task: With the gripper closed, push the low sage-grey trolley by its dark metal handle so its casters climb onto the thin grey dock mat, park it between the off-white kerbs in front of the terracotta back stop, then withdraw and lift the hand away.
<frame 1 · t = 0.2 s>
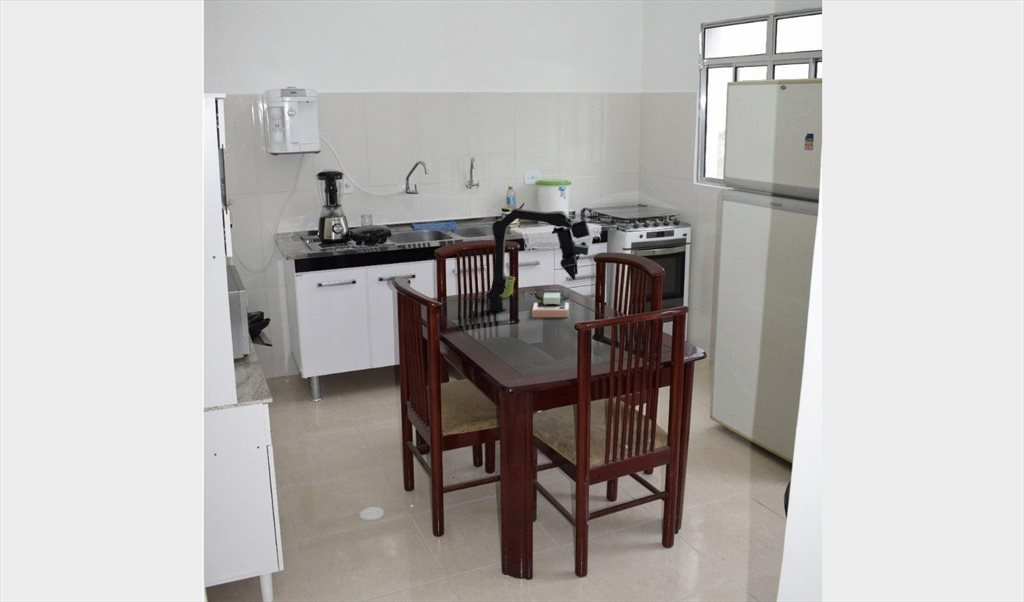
hand: (575, 276, 330), 15 cm above the table, tool pointing down, fingers open, 9 cm apart
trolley: (552, 303, 348), on the table
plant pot: (505, 297, 361), on the table
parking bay: (550, 311, 335), on the table
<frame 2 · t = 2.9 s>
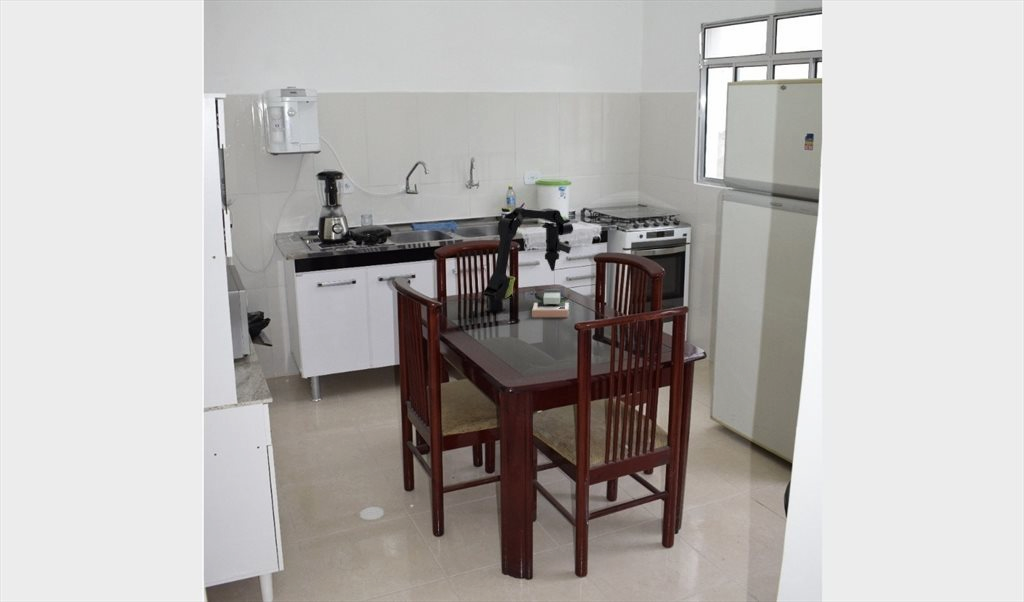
hand: (552, 270, 356), 12 cm above the table, tool pointing down, fingers closed
nothing on the table moved.
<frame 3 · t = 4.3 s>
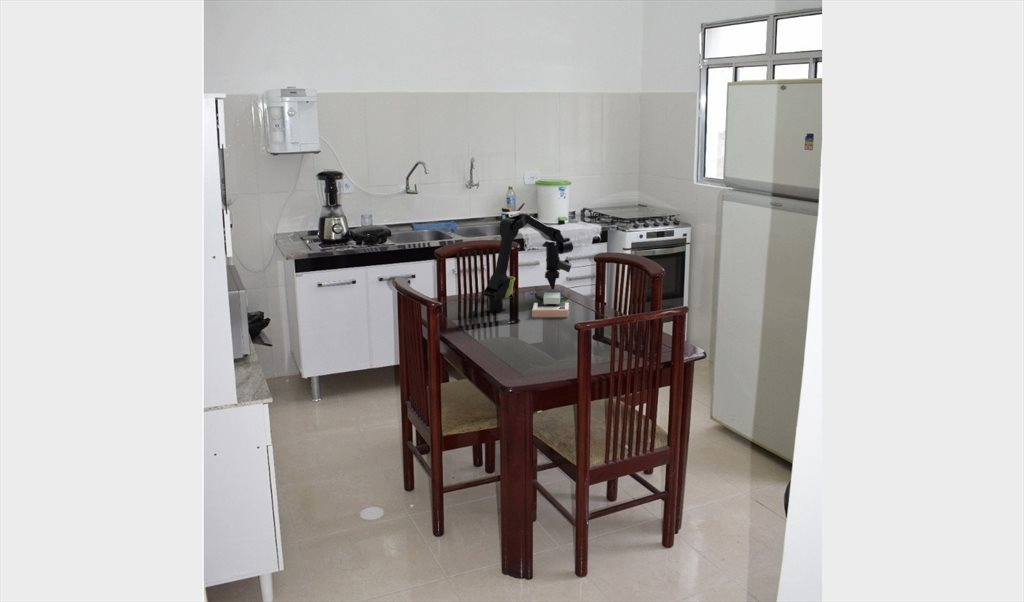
hand: (552, 289, 358), 3 cm above the table, tool pointing down, fingers closed
nothing on the table moved.
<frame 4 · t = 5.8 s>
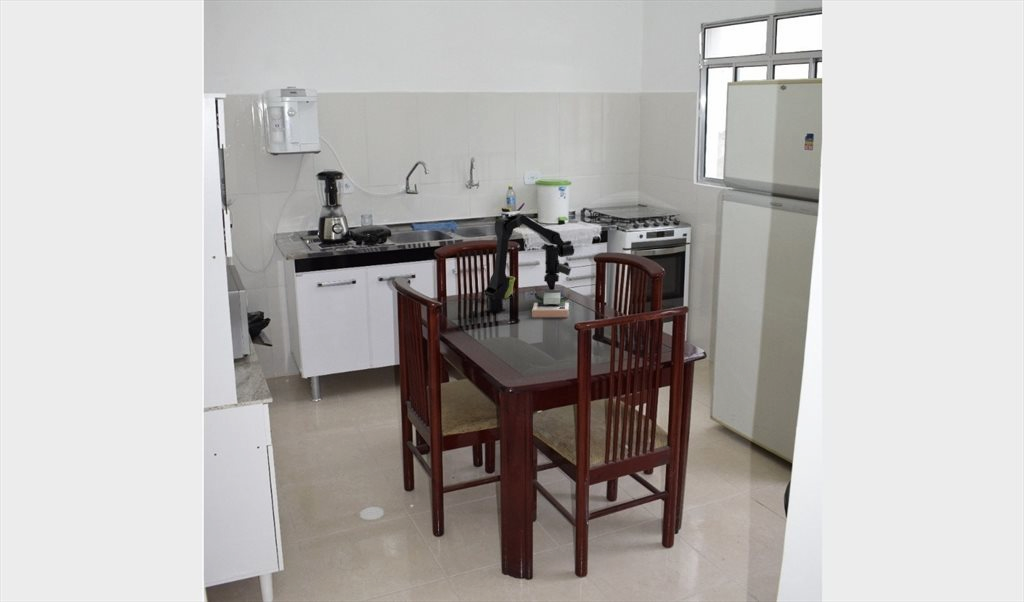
hand: (552, 292, 353), 3 cm above the table, tool pointing down, fingers closed
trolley: (552, 303, 348), on the table, touching gripper
everything else where it was.
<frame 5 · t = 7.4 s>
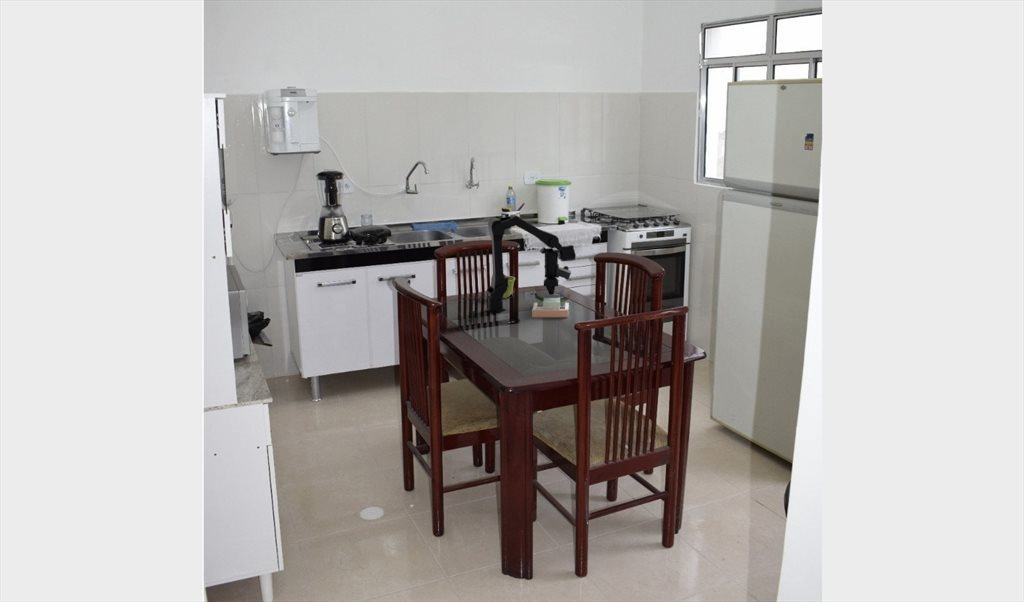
hand: (551, 297, 344), 4 cm above the table, tool pointing down, fingers closed
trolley: (551, 308, 339), on the table, touching gripper
everything else where it was.
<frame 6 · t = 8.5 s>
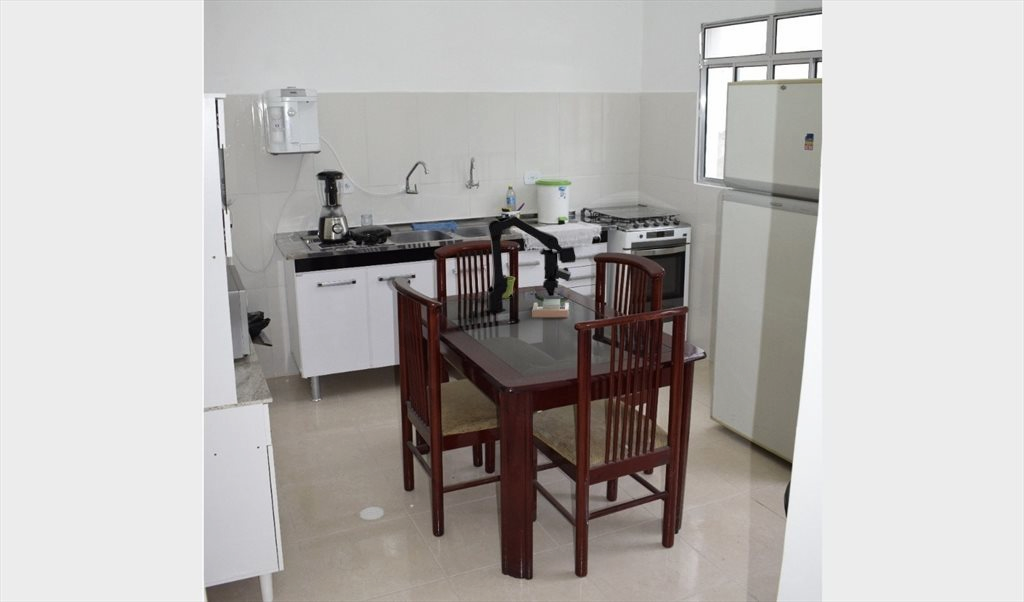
hand: (551, 298, 342), 4 cm above the table, tool pointing down, fingers closed
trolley: (551, 310, 337), resting on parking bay, touching gripper
everything else where it was.
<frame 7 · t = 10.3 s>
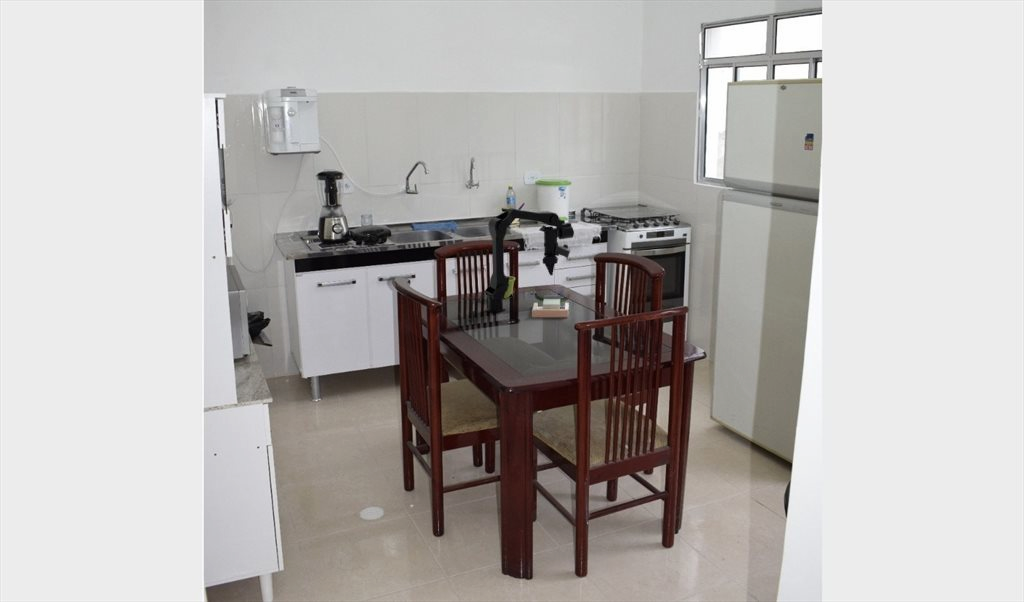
hand: (551, 275, 348), 12 cm above the table, tool pointing down, fingers closed
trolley: (551, 310, 337), resting on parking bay
everything else where it was.
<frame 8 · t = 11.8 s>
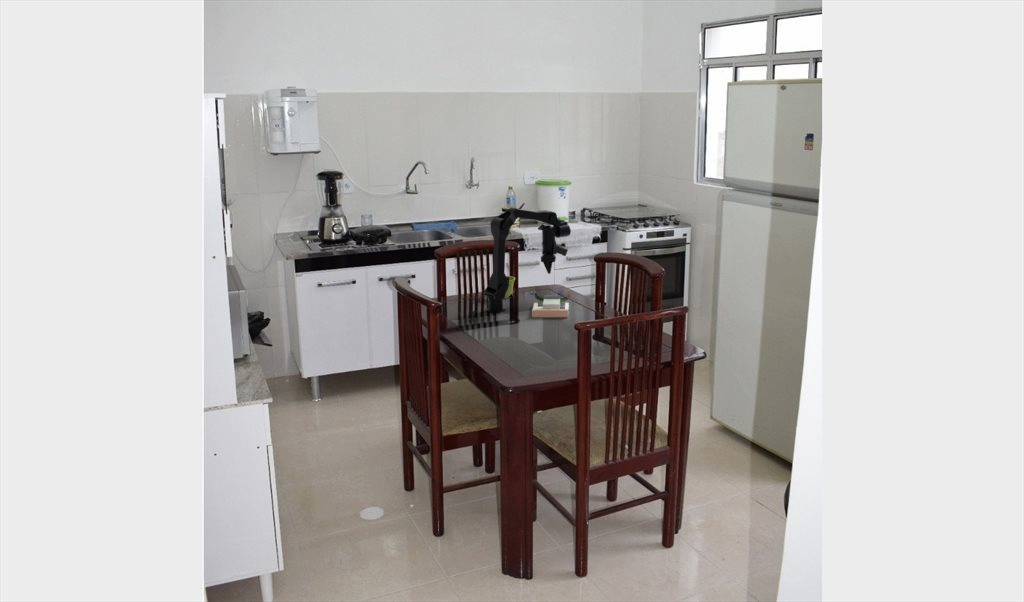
hand: (549, 273, 351), 12 cm above the table, tool pointing down, fingers closed
nothing on the table moved.
at the end: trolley inside the target area on the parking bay (0.8 cm from its centre), point 0.2 cm above the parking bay's base; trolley tilted 0°; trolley moved 11.6 cm from its start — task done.
